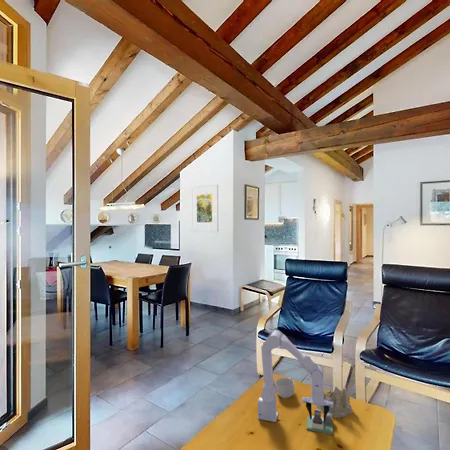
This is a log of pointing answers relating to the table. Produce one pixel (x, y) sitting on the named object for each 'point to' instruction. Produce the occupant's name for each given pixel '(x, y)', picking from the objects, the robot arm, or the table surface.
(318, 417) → the plug
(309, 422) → the board
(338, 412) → the grey jagged lump
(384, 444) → the table surface
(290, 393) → the teacup
